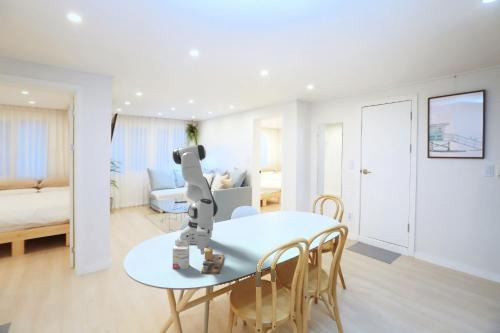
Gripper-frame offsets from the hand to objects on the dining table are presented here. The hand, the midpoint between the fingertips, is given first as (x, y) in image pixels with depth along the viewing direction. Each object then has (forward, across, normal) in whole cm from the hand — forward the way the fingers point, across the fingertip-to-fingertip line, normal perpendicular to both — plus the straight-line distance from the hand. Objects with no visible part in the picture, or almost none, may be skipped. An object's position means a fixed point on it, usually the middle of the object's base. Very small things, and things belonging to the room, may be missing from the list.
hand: (204, 250), depth 143 cm
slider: (+7, -1, +4) cm, 8 cm away
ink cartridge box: (+9, +4, -12) cm, 16 cm away
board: (+8, -1, +5) cm, 10 cm away
